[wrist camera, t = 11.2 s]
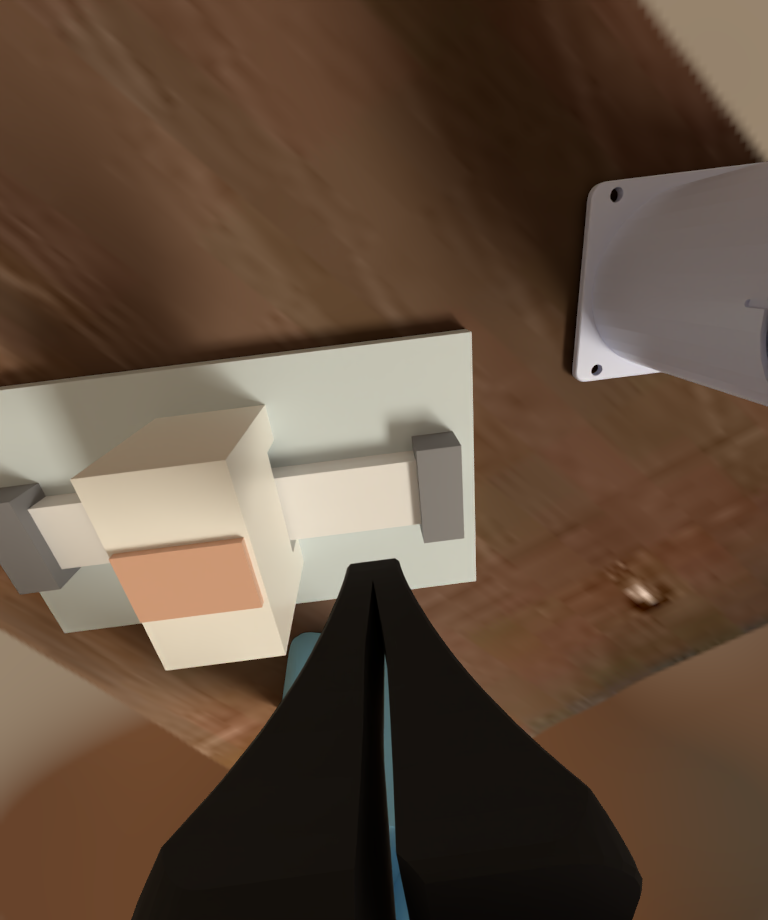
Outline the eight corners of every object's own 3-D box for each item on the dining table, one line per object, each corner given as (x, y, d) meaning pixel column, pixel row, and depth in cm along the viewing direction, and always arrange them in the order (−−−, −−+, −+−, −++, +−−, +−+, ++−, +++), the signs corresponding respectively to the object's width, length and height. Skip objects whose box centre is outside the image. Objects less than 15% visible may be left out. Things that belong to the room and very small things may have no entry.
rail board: (465, 329, 18) (483, 337, 16) (471, 569, 24) (484, 603, 22) (-59, 394, 18) (-126, 413, 16) (75, 619, 24) (42, 660, 22)
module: (265, 404, 18) (222, 464, 13) (303, 561, 22) (284, 661, 16) (155, 418, 18) (64, 483, 13) (213, 573, 22) (162, 677, 16)
